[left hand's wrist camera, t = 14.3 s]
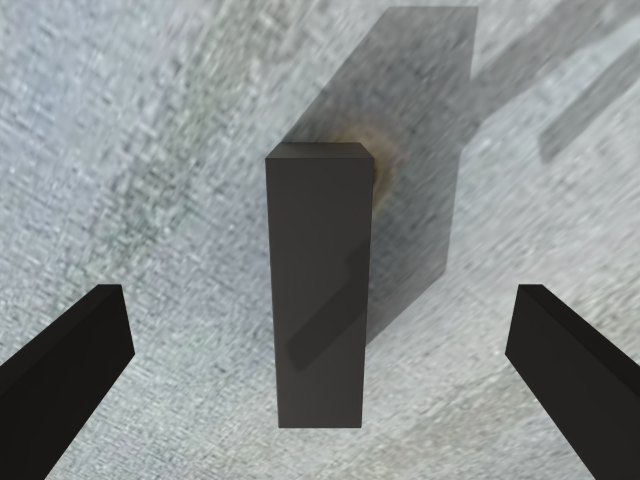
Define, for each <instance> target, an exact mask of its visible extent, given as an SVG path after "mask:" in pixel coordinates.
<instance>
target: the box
mask: <svg viewBox="0 0 640 480" xmlns="http://www.w3.org/2000/svg"><path fill="white" fill-rule="evenodd" d="M265 165H266V185H267V205H268V225H269V246H270V266H271V286H272V306H273V326H274V346H275V366H276V386H277V406H278V426H279V428H361V425H362V405H363V384H364V363H365V342H366V321H367V300H368V279H369V258H370V237H371V216H372V195H373V174H374V158H373V157H372V156H371V154H370V153H369V152H368V151H367V150H366V149H365V148H364V147H363V146H362V144H361V143H279V144H278V145H277V146H276V147H275V148H274V150H273V151H272V152H271V153H270V154H269V155H268V156H267V157H266V158H265Z"/></svg>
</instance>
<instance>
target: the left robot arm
mask: <svg viewBox="0 0 640 480" xmlns="http://www.w3.org/2000/svg"><path fill="white" fill-rule="evenodd" d="M134 355H135V351H134V346H133V341H132V336H131V331H130V326H129V321H128V316H127V311H126V306H125V301H124V296H123V291H122V286H121V284H98V285H97V286H96V287H94V288H93V289H92V290H91V291H90V292H88V293H87V294H86V295H85V296H84V297H82V298H81V299H80V300H79V301H78V302H76V303H75V304H74V305H73V306H72V307H70V308H69V309H68V310H67V311H66V312H64V313H63V314H62V315H61V316H60V317H58V318H57V319H56V320H55V321H54V322H52V323H51V324H50V325H49V326H48V327H47V328H45V329H44V330H43V331H42V332H41V333H39V334H38V335H37V336H36V337H35V338H33V339H32V340H31V341H30V342H29V343H27V344H26V345H25V346H24V347H23V348H21V349H20V350H19V351H18V352H17V353H15V354H14V355H13V356H12V357H11V358H9V359H8V360H7V361H6V362H5V363H3V364H2V365H1V366H0V480H44V479H45V478H46V477H47V475H48V474H49V472H50V471H51V470H52V468H53V467H54V466H55V464H56V463H57V461H58V460H59V459H60V457H61V456H62V455H63V453H64V452H65V450H66V449H67V448H68V446H69V445H70V443H71V442H72V441H73V439H74V438H75V437H76V435H77V434H78V432H79V431H80V430H81V428H82V427H83V426H84V424H85V423H86V421H87V420H88V419H89V417H90V416H91V414H92V413H93V412H94V410H95V409H96V408H97V406H98V405H99V403H100V402H101V401H102V399H103V398H104V397H105V395H106V394H107V392H108V391H109V390H110V388H111V387H112V385H113V384H114V383H115V381H116V380H117V379H118V377H119V376H120V374H121V373H122V372H123V370H124V369H125V368H126V366H127V365H128V363H129V362H130V361H131V359H132V358H133V356H134ZM505 355H506V356H507V358H508V359H509V361H510V362H511V363H512V365H513V366H514V368H515V369H516V370H517V372H518V373H519V374H520V376H521V377H522V379H523V380H524V381H525V383H526V384H527V385H528V387H529V388H530V390H531V391H532V392H533V394H534V395H535V397H536V398H537V399H538V401H539V402H540V403H541V405H542V406H543V408H544V409H545V410H546V412H547V413H548V414H549V416H550V417H551V419H552V420H553V421H554V423H555V424H556V426H557V427H558V428H559V430H560V431H561V432H562V434H563V435H564V437H565V438H566V439H567V441H568V442H569V443H570V445H571V446H572V448H573V449H574V450H575V452H576V453H577V455H578V456H579V457H580V459H581V460H582V461H583V463H584V464H585V466H586V467H587V468H588V470H589V471H590V472H591V474H592V475H593V477H594V478H595V479H596V480H640V366H639V365H638V364H637V363H635V362H634V361H633V360H632V359H631V358H629V357H628V356H627V355H626V354H625V353H623V352H622V351H621V350H620V349H619V348H617V347H616V346H615V345H614V344H613V343H611V342H610V341H609V340H608V339H607V338H605V337H604V336H603V335H602V334H601V333H599V332H598V331H597V330H596V329H595V328H593V327H592V326H591V325H590V324H589V323H588V322H586V321H585V320H584V319H583V318H582V317H580V316H579V315H578V314H577V313H576V312H574V311H573V310H572V309H571V308H570V307H568V306H567V305H566V304H565V303H564V302H562V301H561V300H560V299H559V298H558V297H556V296H555V295H554V294H553V293H552V292H550V291H549V290H548V289H547V288H546V287H544V286H543V285H542V284H519V286H518V291H517V296H516V301H515V306H514V311H513V316H512V321H511V326H510V331H509V336H508V341H507V346H506V351H505Z"/></svg>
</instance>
